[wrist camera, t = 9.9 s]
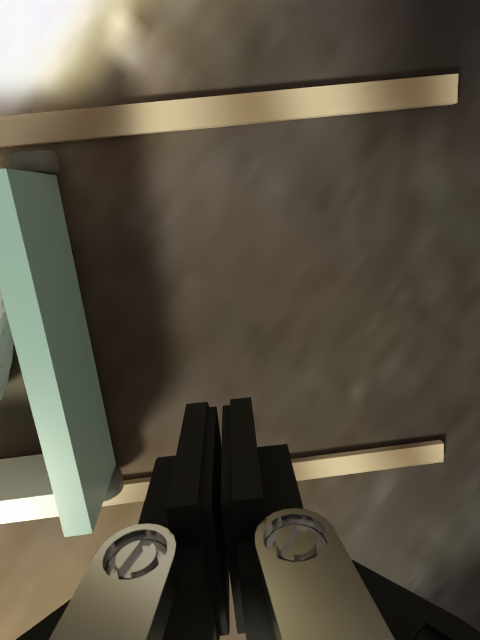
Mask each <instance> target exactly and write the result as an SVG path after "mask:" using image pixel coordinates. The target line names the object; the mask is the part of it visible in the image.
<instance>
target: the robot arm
mask: <svg viewBox="0 0 480 640" xmlns="http://www.w3.org/2000/svg"><path fill="white" fill-rule="evenodd" d="M229 572H230V580H231V588H232V595H233V603H234V611H235V618H236V626H237V633H238V634H241V633H246V639H247V640H480V633H479V631H478V630H476V629H475V628H474V627H472V626H471V625H469V624H468V623H466V622H465V621H463V620H462V619H460V618H458V617H456V616H455V615H453V614H451V613H449V612H447V611H445V610H444V609H442V608H440V607H438V606H436V605H434V604H432V603H431V602H429V601H427V600H425V599H423V598H421V597H420V596H418V595H416V594H414V593H412V592H410V591H409V590H407V589H405V588H403V587H401V586H399V585H398V584H396V583H394V582H392V581H390V580H388V579H387V578H385V577H383V576H381V575H379V574H377V573H375V572H374V571H372V570H370V569H368V568H366V567H364V566H363V565H361V564H359V563H357V562H355V561H353V560H352V559H351V558H350V557H349V555H348V553H347V551H346V549H345V547H344V546H343V544H342V542H341V540H340V538H339V536H338V535H337V533H336V531H335V529H334V527H333V526H332V525H331V524H330V522H329V521H328V520H327V519H326V518H324V517H323V516H321V515H320V514H318V513H316V512H313V511H310V510H307V509H303V505H302V501H301V497H300V493H299V489H298V485H297V481H296V477H295V473H294V469H293V465H292V461H291V457H290V453H289V449H288V446H287V444H283V445H273V446H263V447H257V443H256V435H255V426H254V418H253V410H252V402H251V397H249V398H239V399H230V405H226V406H223V410H222V446H221V438H220V430H219V422H218V414H217V408H216V407H209V405H208V402H201V403H191V404H186V408H185V413H184V418H183V423H182V428H181V433H180V438H179V443H178V448H177V453H176V456H167V457H158V458H157V459H156V462H155V465H154V469H153V472H152V476H151V480H150V483H149V487H148V490H147V494H146V498H145V501H144V505H143V509H142V512H141V516H140V519H139V523H138V525H134V526H131V527H128V528H125V529H123V530H121V531H120V532H118V533H116V534H114V535H113V536H112V537H110V538H109V539H108V540H107V541H106V542H104V544H103V545H102V546H101V548H100V549H99V550H98V552H97V553H96V555H95V557H94V559H93V561H92V562H91V564H90V566H89V568H88V570H87V571H86V573H85V575H84V577H83V579H82V580H81V582H80V584H79V586H78V588H77V590H76V591H75V593H74V595H73V597H72V599H70V600H69V601H68V602H66V603H65V604H64V605H62V606H61V607H60V608H58V609H57V610H55V611H54V612H53V613H51V614H50V615H49V616H47V617H46V618H45V619H43V620H42V621H41V622H39V623H38V624H36V625H35V626H34V627H32V628H31V629H30V630H28V631H27V632H26V633H24V634H23V635H22V636H20V637H19V638H17V639H16V640H219V639H220V636H222V635H229Z"/></svg>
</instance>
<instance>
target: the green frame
mask: <svg viewBox="0 0 480 640" xmlns="http://www.w3.org/2000/svg"><path fill="white" fill-rule="evenodd" d="M4 155H5V159H6V163H7V168H4V169H0V291H1V295H2V298H3V302H4V306H5V310H6V314H7V318H8V321H9V325H10V329H11V333H12V337H13V341H14V345H15V348H16V352H17V356H18V360H19V364H20V368H21V372H22V375H23V379H24V383H25V387H26V391H27V395H28V398H29V402H30V406H31V410H32V414H33V418H34V422H35V425H36V429H37V433H38V437H39V441H40V445H41V448H42V452H43V454H39V455H31V456H23V457H15V458H7V459H0V524H3V523H11V522H19V521H26V520H34V519H41V518H49V517H57V516H59V518H60V522H61V525H62V529H63V533H64V537H69V536H76V535H84V534H91V533H93V530H94V528H95V525H96V522H97V519H98V516H99V513H100V510H101V507H102V504H103V502H104V501H108V500H110V499H112V498H114V497H116V496H117V495H118V494H119V493H120V492H121V491H122V489H123V487H124V483H123V478H122V473H121V470H120V468H119V467H117V466H116V462H115V457H114V453H113V448H112V443H111V438H110V433H109V428H108V424H107V419H106V414H105V409H104V404H103V399H102V395H101V390H100V385H99V380H98V375H97V370H96V366H95V361H94V356H93V351H92V346H91V341H90V337H89V332H88V327H87V322H86V317H85V312H84V308H83V303H82V298H81V293H80V288H79V284H78V279H77V274H76V269H75V264H74V259H73V255H72V250H71V245H70V240H69V235H68V230H67V226H66V221H65V216H64V211H63V206H62V201H61V197H60V192H59V187H58V182H57V177H56V175H51V173H57V172H60V169H59V164H58V160H57V155H56V151H52V150H27V151H16V152H10V153H6V154H4Z"/></svg>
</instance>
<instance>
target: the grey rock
mask: <svg viewBox="0 0 480 640" xmlns="http://www.w3.org/2000/svg"><path fill="white" fill-rule="evenodd" d="M13 348H14V341H13V337H12V333H11V329H10V325H9V321H8V318H7V314H6V310H5V306H4V302H3V298H2V295H1V291H0V401H1V399H2V397H3V395H4V393H5V390H6V387H7V385H8V380H9V372H10V367H11V364H12V357H13Z"/></svg>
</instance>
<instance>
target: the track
mask: <svg viewBox="0 0 480 640" xmlns="http://www.w3.org/2000/svg"><path fill="white" fill-rule="evenodd" d="M457 97H458V74H448V75H437V76H426V77H415V78H405V79H394V80H383V81H372V82H362V83H351V84H340V85H329V86H319V87H308V88H297V89H286V90H276V91H265V92H254V93H244V94H233V95H222V96H211V97H201V98H190V99H179V100H168V101H158V102H147V103H136V104H125V105H115V106H104V107H93V108H82V109H72V110H61V111H50V112H39V113H29V114H18V115H7V116H0V148H5V147H16V146H26V145H37V144H47V143H57V142H68V141H78V140H89V139H99V138H109V137H120V136H130V135H141V134H151V133H161V132H172V131H182V130H193V129H203V128H214V127H224V126H234V125H245V124H255V123H266V122H276V121H286V120H297V119H307V118H318V117H328V116H338V115H349V114H359V113H370V112H380V111H391V110H401V109H411V108H422V107H432V106H443V105H453V104H455V103H457ZM443 455H444V443H443V442H442V441H441V440H435V441H427V442H419V443H411V444H404V445H396V446H388V447H380V448H373V449H365V450H357V451H349V452H341V453H334V454H326V455H318V456H310V457H303V458H295V459H291V461H292V465H293V469H294V473H295V477H296V481H299V480H307V479H314V478H322V477H330V476H337V475H345V474H353V473H360V472H368V471H376V470H383V469H391V468H398V467H406V466H414V465H421V464H429V463H437V462H443ZM150 480H151V477H147V478H140V479H132V480H124V481H123V483H124V487H123V489H122V491H121V492H120V493H119V494H118V495H117V496H116V497H114V498H112V499H110V500H108V501H104V502H103V504H102V506H108V505H116V504H124V503H131V502H139V501H145V498H146V494H147V490H148V487H149V483H150Z"/></svg>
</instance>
